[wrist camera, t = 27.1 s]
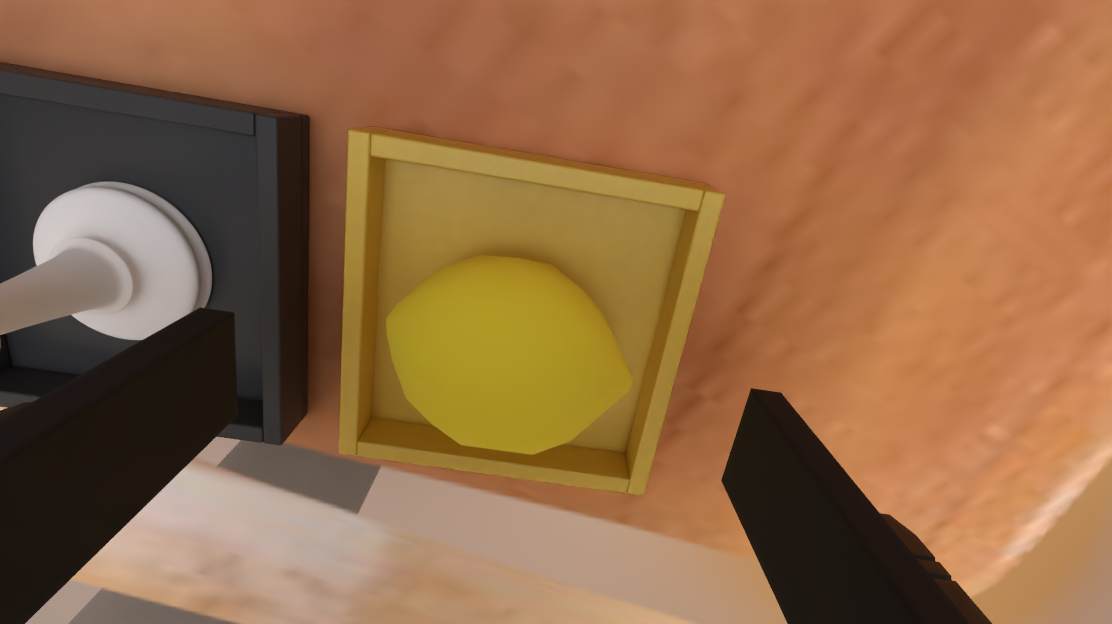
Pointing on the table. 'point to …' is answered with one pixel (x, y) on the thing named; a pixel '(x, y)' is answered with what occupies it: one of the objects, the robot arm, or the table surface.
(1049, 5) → the table surface
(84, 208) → the chess piece
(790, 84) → the table surface
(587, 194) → the yellow tray
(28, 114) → the charcoal tray
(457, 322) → the lemon
